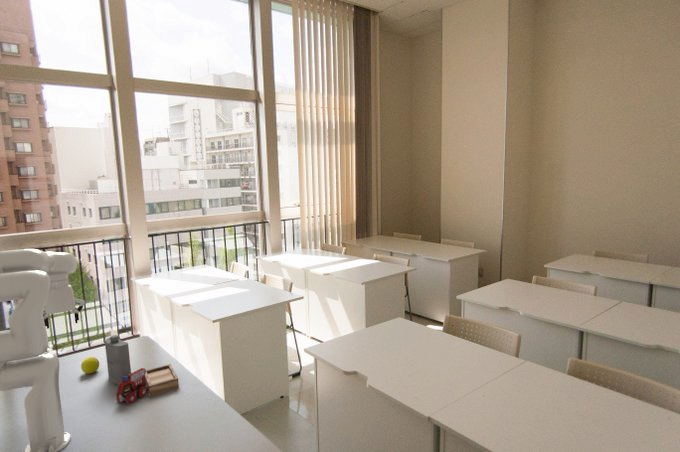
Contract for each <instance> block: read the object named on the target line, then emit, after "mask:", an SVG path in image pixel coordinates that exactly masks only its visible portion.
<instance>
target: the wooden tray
mask: <svg viewBox="0 0 680 452" xmlns="http://www.w3.org/2000/svg"><path fill="white" fill-rule="evenodd" d="M145 370H146V374H145V382H146V387H147V388H148V395H149V397H152V396H156V395H160V394H162V393H165V392H170V391H172V390H176V389H178V388H179V386H180V382H179V377H178V375H177V374H176V373H177V372H176V371H175V370H174V367H173V366H172V364H171V363H169V364H165V365H161V366H158V367H152V368H148V369H145Z"/></svg>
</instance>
